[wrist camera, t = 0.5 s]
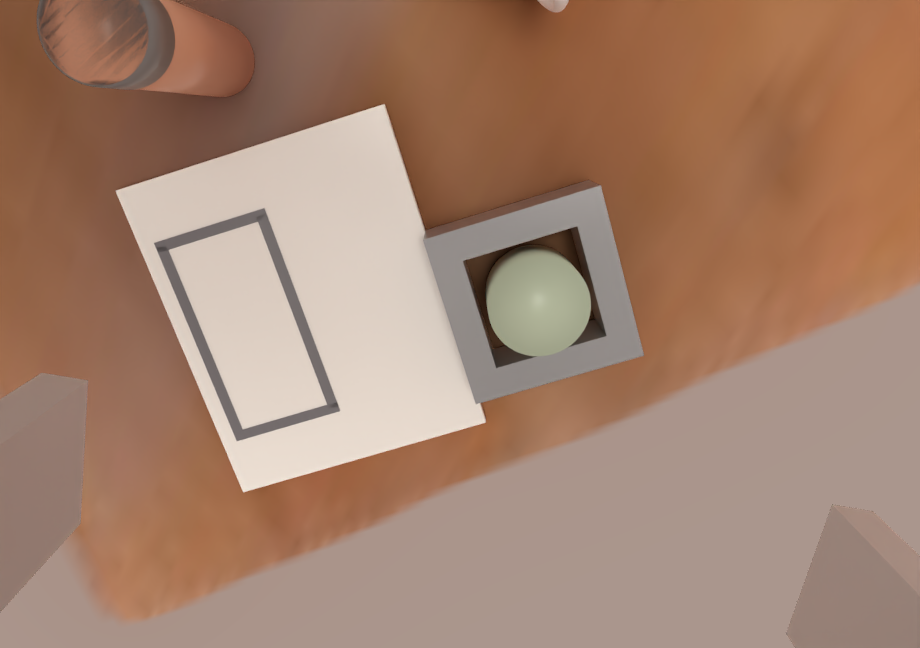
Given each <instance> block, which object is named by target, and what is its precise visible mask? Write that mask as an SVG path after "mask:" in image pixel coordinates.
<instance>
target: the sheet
mask: <svg viewBox="0 0 920 648" xmlns="http://www.w3.org/2000/svg"><path fill="white" fill-rule="evenodd" d="M116 193H117V196H118V198H119V201H120V203H121V205H122V208H123V210H124V212H125V215H126V217H127V219H128V222H129V224H130V226H131V229H132V231H133V234H134V236H135V238H136V241H137V243H138V245H139V248H140V250H141V252H142V255H143V257H144V259H145V262H146V264H147V267H148V269H149V271H150V274H151V276H152V278H153V281H154V283H155V285H156V288H157V290H158V292H159V295H160V297H161V300H162V302H163V304H164V307H165V309H166V311H167V314H168V316H169V318H170V321H171V323H172V325H173V328H174V330H175V333H176V335H177V337H178V340H179V342H180V344H181V347H182V349H183V351H184V354H185V356H186V358H187V361H188V363H189V366H190V368H191V370H192V373H193V375H194V377H195V380H196V382H197V384H198V387H199V389H200V392H201V394H202V396H203V399H204V401H205V403H206V406H207V408H208V410H209V413H210V415H211V417H212V420H213V422H214V425H215V427H216V429H217V432H218V434H219V436H220V439H221V441H222V443H223V446H224V448H225V450H226V453H227V455H228V458H229V460H230V462H231V465H232V467H233V469H234V472H235V474H236V476H237V479H238V481H239V483H240V486H241V488H242V491H243V492H246V491H249V490H253V489H256V488H260V487H263V486H267V485H270V484H274V483H277V482H281V481H284V480H288V479H291V478H295V477H298V476H302V475H305V474H309V473H312V472H316V471H319V470H323V469H326V468H330V467H333V466H336V465H340V464H343V463H347V462H350V461H354V460H357V459H361V458H364V457H368V456H371V455H375V454H378V453H382V452H385V451H389V450H392V449H396V448H399V447H403V446H406V445H410V444H413V443H416V442H420V441H423V440H427V439H430V438H434V437H437V436H441V435H444V434H448V433H451V432H455V431H458V430H462V429H465V428H469V427H472V426H476V425H479V424H483V423H486V417H485V414H484V411H483V408H482V405H481V403H478V404H476V403H475V400H474V397H473V394H472V391H471V388H470V385H469V382H468V379H467V376H466V372H465V369H464V366H463V363H462V360H461V357H460V354H459V351H458V348H457V345H456V341H455V338H454V335H453V332H452V329H451V326H450V323H449V320H448V317H447V314H446V310H445V307H444V304H443V301H442V298H441V295H440V292H439V289H438V286H437V283H436V279H435V276H434V273H433V270H432V267H431V264H430V261H429V258H428V255H427V252H426V248H425V245H424V242H423V238H424V234H425V227H424V224H423V221H422V218H421V215H420V212H419V208H418V205H417V202H416V199H415V196H414V193H413V190H412V187H411V183H410V180H409V177H408V174H407V171H406V168H405V165H404V162H403V159H402V155H401V152H400V149H399V146H398V143H397V140H396V137H395V134H394V130H393V127H392V124H391V121H390V118H389V115H388V112H387V109H386V105H385V104H383V105H380V106H376V107H373V108H370V109H367V110H364V111H361V112H358V113H355V114H352V115H349V116H345V117H342V118H339V119H336V120H333V121H330V122H327V123H324V124H321V125H318V126H314V127H311V128H308V129H305V130H302V131H299V132H296V133H293V134H290V135H287V136H284V137H280V138H277V139H274V140H271V141H268V142H265V143H262V144H259V145H256V146H253V147H249V148H246V149H243V150H240V151H237V152H234V153H231V154H228V155H225V156H222V157H218V158H215V159H212V160H209V161H206V162H203V163H200V164H197V165H194V166H191V167H187V168H184V169H181V170H178V171H175V172H172V173H169V174H166V175H163V176H160V177H157V178H153V179H150V180H147V181H144V182H141V183H138V184H135V185H132V186H129V187H126V188H122V189H119V190H116Z"/></svg>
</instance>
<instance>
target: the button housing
mask: <svg viewBox="0 0 920 648" xmlns="http://www.w3.org/2000/svg"><path fill="white" fill-rule="evenodd" d="M566 229H571V232H572V236H573V240H574V243H575V247H576V251H577V255H578V258H579V262H580V266H581V269H582V273H583V277H584V281H585V283H586V285H587V287H588V290H589V293H590V298H591V307H592V310H593V314H594V318H595V319H593V320H590V321H588V323H587V325H586V327H585V329H584V331H583V332H582V334H581V335H580V337H579V338H578V339H577V340H576V341H575V342H574V343H573V344H572V345H570V346H569V347H567V348H566V349H564V350H562V351H560V352H558V353H555V354H552V355H547V356H529V355H524V354H521V353H518V352H516V351H514V350H512V349H511V348H509V347H508V346H506V345H505V346H502V347H498V348H495V349H493V347H492V344H491V340H490V337H489V334H488V331H487V328H486V324H485V321H484V318H483V315H482V311H481V308H480V305H479V302H478V298H477V295H476V292H475V289H474V286H473V282H472V279H471V276H470V273H469V269H468V266H467V263H466V260H468V259H471V258H474V257H478V256H481V255H484V254H488V253H491V252H494V251H497V250H501V249H504V248H507V247H511V246H514V245H517V244H520V243H524V242H527V241H530V240H534V239H537V238H540V237H543V236H547V235H550V234H553V233H557V232H560V231H563V230H566ZM423 242H424V245H425V248H426V252H427V255H428V258H429V261H430V264H431V267H432V270H433V273H434V276H435V279H436V283H437V286H438V289H439V292H440V295H441V298H442V301H443V304H444V307H445V310H446V314H447V317H448V320H449V323H450V326H451V329H452V332H453V335H454V338H455V341H456V345H457V348H458V351H459V354H460V357H461V360H462V363H463V366H464V369H465V372H466V376H467V379H468V382H469V385H470V388H471V391H472V394H473V397H474V400H475V403H476V404H478V403H482V402H485V401H489V400H492V399H496V398H499V397H503V396H506V395H510V394H513V393H516V392H520V391H523V390H527V389H530V388H534V387H537V386H541V385H544V384H548V383H551V382H554V381H558V380H561V379H565V378H568V377H572V376H575V375H579V374H582V373H586V372H589V371H592V370H596V369H599V368H603V367H606V366H610V365H613V364H617V363H620V362H624V361H627V360H630V359H634V358H637V357H641V356H644V353H643V349H642V345H641V342H640V338H639V334H638V330H637V326H636V322H635V318H634V314H633V310H632V306H631V302H630V298H629V294H628V290H627V287H626V283H625V279H624V275H623V271H622V267H621V263H620V259H619V255H618V251H617V247H616V243H615V239H614V236H613V232H612V228H611V224H610V220H609V216H608V212H607V208H606V204H605V200H604V196H603V192H602V188H601V185H599V184H597V183H595V182H592V181H590V180H587V181H583V182H580V183H577V184H574V185H571V186H567V187H564V188H561V189H558V190H554V191H551V192H548V193H545V194H541V195H538V196H535V197H532V198H528V199H525V200H522V201H519V202H515V203H512V204H509V205H506V206H503V207H499V208H496V209H493V210H490V211H486V212H483V213H480V214H477V215H473V216H470V217H467V218H464V219H460V220H457V221H454V222H451V223H447V224H444V225H441V226H438V227H434V228H431V229H428V230H425V234H424V238H423Z"/></svg>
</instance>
